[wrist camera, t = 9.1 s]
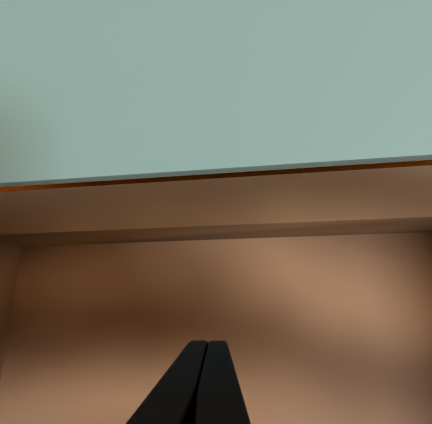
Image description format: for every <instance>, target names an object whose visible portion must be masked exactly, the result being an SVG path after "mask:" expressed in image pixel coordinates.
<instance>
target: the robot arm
mask: <svg viewBox="0 0 432 424" xmlns="http://www.w3.org/2000/svg"><path fill="white" fill-rule="evenodd" d="M126 424H251V422H250V419H249V415H248V412H247V408H246V405H245V401H244V398H243V395H242V391H241V388H240V384H239V381H238V377H237V374H236V370H235V367H234V364H233V360H232V357H231V353H230V350H229V346H228V343H227V342H226V341H224V340H211V341H209V343H208V341H206V340H192V341H190V342H189V343H188V344H187V345H186V346H185V348H184V349H183V350H182V352H181V353H180V354H179V355H178V357H177V358H176V359H175V361H174V362H173V363H172V365H171V366H170V367H169V368H168V370H167V371H166V372H165V374H164V375H163V376H162V377H161V379H160V380H159V381H158V383H157V384H156V385H155V386H154V388H153V389H152V390H151V392H150V393H149V394H148V396H147V397H146V398H145V399H144V401H143V402H142V403H141V405H140V406H139V407H138V408H137V410H136V411H135V412H134V414H133V415H132V416H131V417H130V419H129V420H128V421H127V423H126Z"/></svg>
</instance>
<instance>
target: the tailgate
mask: <svg viewBox="0 0 432 424" xmlns="http://www.w3.org/2000/svg"><path fill="white" fill-rule="evenodd" d="M421 160H432V0H0V187H14V186H29V185H45V184H61V183H76V182H92V181H108V180H123V179H139V178H155V177H170V176H186V175H202V174H217V173H233V172H249V171H264V170H280V169H296V168H311V167H327V166H342V165H358V164H374V163H389V162H405V161H421Z"/></svg>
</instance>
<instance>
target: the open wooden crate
mask: <svg viewBox="0 0 432 424" xmlns="http://www.w3.org/2000/svg"><path fill="white" fill-rule="evenodd" d="M192 340H206V341H208V343H209V341H211V340H224V341H226V342H227V343H228V346H229V350H230V353H231V357H232V360H233V364H234V367H235V370H236V374H237V377H238V381H239V384H240V388H241V391H242V395H243V398H244V401H245V405H246V408H247V412H248V415H249V419H250V422H251V424H432V165H426V166H409V167H393V168H377V169H361V170H345V171H328V172H312V173H296V174H280V175H264V176H248V177H231V178H215V179H199V180H183V181H167V182H150V183H134V184H118V185H102V186H86V187H69V188H53V189H37V190H21V191H5V192H0V424H126V423H127V421H128V420H129V419H130V417H131V416H132V415H133V414H134V412H135V411H136V410H137V408H138V407H139V406H140V405H141V403H142V402H143V401H144V399H145V398H146V397H147V396H148V394H149V393H150V392H151V390H152V389H153V388H154V386H155V385H156V384H157V383H158V381H159V380H160V379H161V377H162V376H163V375H164V374H165V372H166V371H167V370H168V368H169V367H170V366H171V365H172V363H173V362H174V361H175V359H176V358H177V357H178V355H179V354H180V353H181V352H182V350H183V349H184V348H185V346H186V345H187V344H188V343H189V342H190V341H192Z"/></svg>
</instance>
